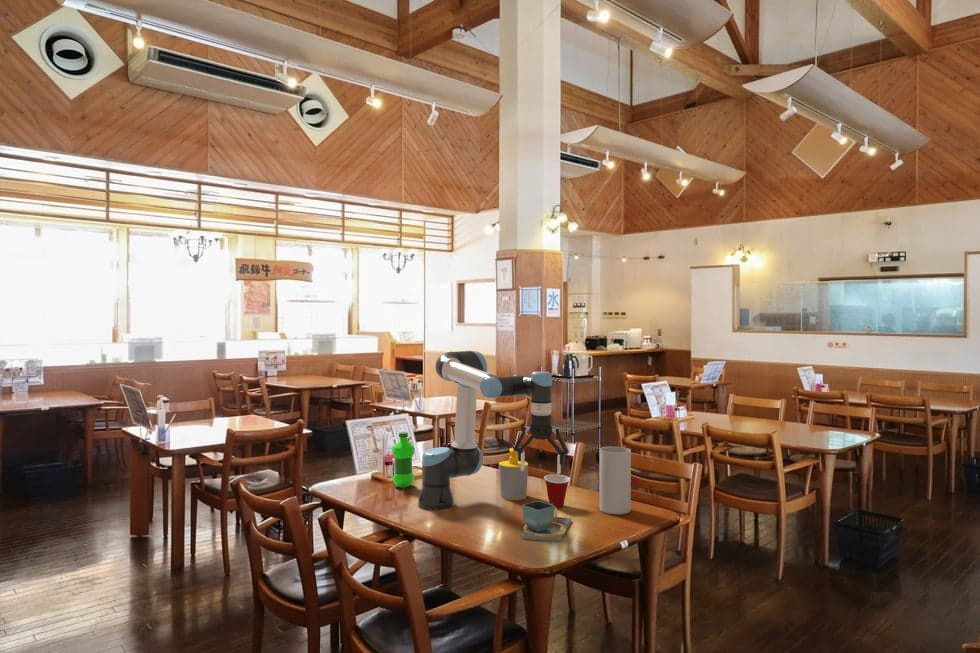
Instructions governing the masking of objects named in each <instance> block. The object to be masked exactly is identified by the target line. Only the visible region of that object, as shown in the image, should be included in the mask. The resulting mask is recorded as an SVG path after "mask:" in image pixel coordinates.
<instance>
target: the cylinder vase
mask: <svg viewBox="0 0 980 653" xmlns="http://www.w3.org/2000/svg"><path fill="white" fill-rule="evenodd" d="M631 450H632V449H630V448H629V447H628V448H627V447H622V446H603V447H599V490H598V492H599V494H598V495H599V500H598V501H599V508H598V509H599V511H600V512H602V513H605V514H609V515H613V516H614V515H618V516H619V515H626V514H629V513H630V512H631V507H632V506H631V504H632V503H631V498H632V497H631V496H632V494H631V490H632V489H631V488H632V487H631V486H632V485H631V483H632V478H631V477H632V474H631V473H632V472H631V468H632V467H631V464H632V462H631V461H632V460H631V457H632V454H631V452H632V451H631Z"/></svg>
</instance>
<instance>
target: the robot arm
mask: <svg viewBox="0 0 980 653" xmlns="http://www.w3.org/2000/svg"><path fill="white" fill-rule="evenodd" d="M434 365H435V366H434V368H435V372H436V374H437V375H438V377H440V378H441V379H443V380H445V381H446V382H453V383H454V384H455V385H456V400H455V401H456V404H455V406H456V407H455V425H454V426H455V427H454V428H455V429H454V440H453V441H452V442H451V444H450V448H449V447H445V446H444V447H443V446H441V447H433V448H429V449H427V450H426V451H424V452H423V453H422V460H421V464H422V465H421V466H422V467H421V470H422V473H421V475H422V476H421V477H422V480H421V482H422V483H421V485H422V486H421V490H420V493H419V496H418V499H417V503H418V504H417V506H418V507H419V508H420V509H424V510H429V511H430V510H431V511H433V510H434V511H440V510H441V511H442V510H446V509H451V508H453V507H454V506H455V498H454V495H453V492H452V488H451V479H452V478H458V477H459V478H460V477H464V476H465V477H467V476H471V475H475V474H477V473H478V472H479V471H480V470H481V468H482V466H483V460H484V459H483V454H482V453H483V452H482V450H481V449H480V448H479V446H478V444H477V442H475V438H476V437H475V434H476V419H477V418H476V417H477V416H476V415H477V414H476V413H477V398H478V397H477V396H478V391H479V392H480V393H481V395H482V396H483V397H484V398H487V399H489V398H490V399H496V398H506V397H518V396H528V397H531V400H530V413H531V414H530V426H527V425H523V426H522V428H521V433H520V435H519V436H518V439H517V441H516V443H515V444H514V447H513V448H514V449H513V450H514V451H516V453H518V454H517V455H518V456H517V457H518V461H521V471H523V470H524V469H525V462H526V460H525V458H526V456H525V454H526V452H525V451H524V450H526V448H527V447H528V446H529V445H530V443H531V442H533V440H534V439H535V440H543V441H545V440H547V442H549V444H551V446H552V447H553V448H554V450H555V451H556V452H557V453H558V455H557V458H556V462H557V468H556V470H557V471H556V473H557V474H556V475H561V471H562V467H561V466H562V465H564V462H565V459H564V458H565V455H568V454H569V452H570V450H569V448H568V446H567V444H566V442H565V440H564V438H563V436H562V434H561V433H562V432H561V428H560V427H555V428H553V427H552V409H553V408H552V405H553V404H552V402H553V400H552V397H553V394H552V392H553V382H552V381H553V379H552V373H551V372H549V371H539V370H538V371H533V372H531V375H525V374H521V373H519V374H513V375H507V376H505V375H504V376H498V375H494V374H492V373H490V372H488V363H487V360H486V358H485V356H484V354H482V353H481V352H480V351H475V350H464V351H463V350H462V351H460V350H458V351H448V352H447V351H446V352H444V353H442V354H440V356H439V357H438V358H437V360H436V361H435V364H434ZM528 432H530V433H531V436H530V437H529V438H528V439H527V440H526V441H525V442H524V443H523V444H522V442H523V440H524V438H525V435H526V433H528ZM552 433H554V435H556V438H557V440H558V442H556V440H555V439H554V438H553V436H552ZM558 443H559V444H558ZM521 444H522V445H521ZM559 445H560V446H559Z"/></svg>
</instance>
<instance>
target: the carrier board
mask: <svg viewBox="0 0 980 653" xmlns="http://www.w3.org/2000/svg"><path fill="white" fill-rule="evenodd" d="M547 504H551V505H553V504H552V503H549V502H548V503H547ZM571 522H572V518H571V517H562V516H561V517H560V516H558V508H556V507H555V508H554V515H553V520H552V523H551V525H550V526H549V528H548V529H547V530H544V531H541V532H536V531H533V530H531V529H529V528H528V527H527V525H526V523H525V524H524V526H523V527H522V530H523V531H522V533H521V534H520V539H521V540H528V541H529V540H530V541H531V540H532V541H538V542H539V541H541V542H550V543H561V541H562V539H563V538H564V535H565V533H566V532H567V530H568V528H569V526H570V524H571Z"/></svg>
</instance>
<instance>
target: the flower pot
mask: <svg viewBox="0 0 980 653" xmlns="http://www.w3.org/2000/svg"><path fill="white" fill-rule="evenodd" d="M554 508H555V506H554V505H551V504H548V503H546V502H543V501H540V500H536V501H532V502H528V503H524V504H522V505H521V511H522V516H523V521H524V523H525V524H526V525H527V527H528V528H529V529H531V530H533V531H536V532H541V531H544V530H547V529H548V528H549V526H550V525H551V523H552V520H553V515H554Z"/></svg>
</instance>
